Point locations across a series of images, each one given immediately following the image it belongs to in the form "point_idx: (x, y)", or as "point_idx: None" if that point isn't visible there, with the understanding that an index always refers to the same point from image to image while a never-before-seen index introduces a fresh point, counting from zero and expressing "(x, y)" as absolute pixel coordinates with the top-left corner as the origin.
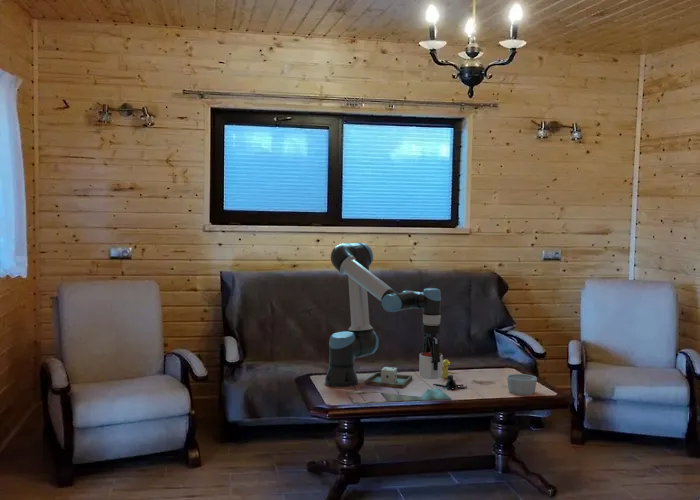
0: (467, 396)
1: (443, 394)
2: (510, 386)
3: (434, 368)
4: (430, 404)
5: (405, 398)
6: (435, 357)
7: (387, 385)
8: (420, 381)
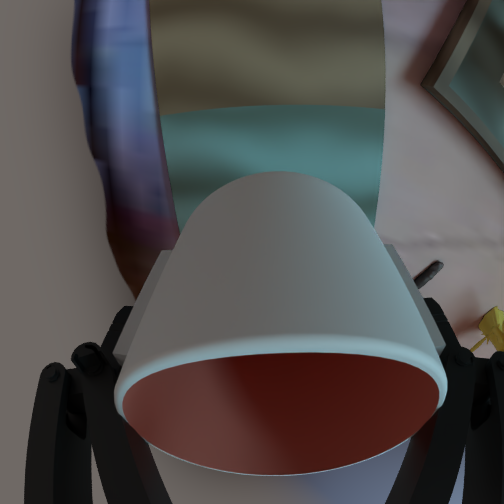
0: None
1: None
2: None
3: (115, 319)
4: (103, 159)
5: (192, 35)
6: (39, 410)
7: (461, 22)
8: (498, 227)
